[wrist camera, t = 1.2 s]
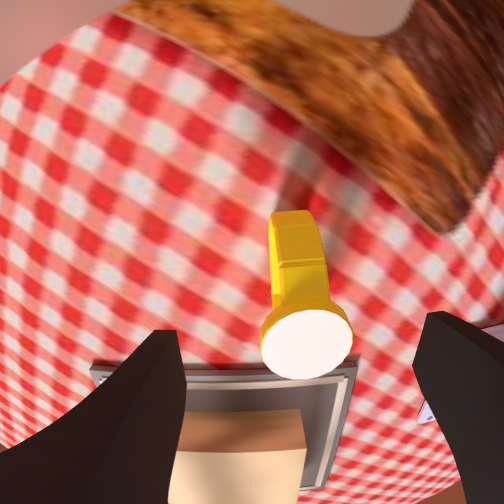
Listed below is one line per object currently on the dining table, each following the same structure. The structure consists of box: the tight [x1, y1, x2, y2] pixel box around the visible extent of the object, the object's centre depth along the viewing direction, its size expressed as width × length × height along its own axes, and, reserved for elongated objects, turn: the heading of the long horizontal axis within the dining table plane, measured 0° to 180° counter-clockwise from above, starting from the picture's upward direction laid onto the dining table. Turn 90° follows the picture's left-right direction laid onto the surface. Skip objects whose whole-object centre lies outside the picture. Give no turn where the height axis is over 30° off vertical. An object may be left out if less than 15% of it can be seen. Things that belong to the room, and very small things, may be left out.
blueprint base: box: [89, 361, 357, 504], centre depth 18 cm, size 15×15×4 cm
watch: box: [260, 210, 353, 379], centre depth 12 cm, size 6×3×6 cm, turn 4°
